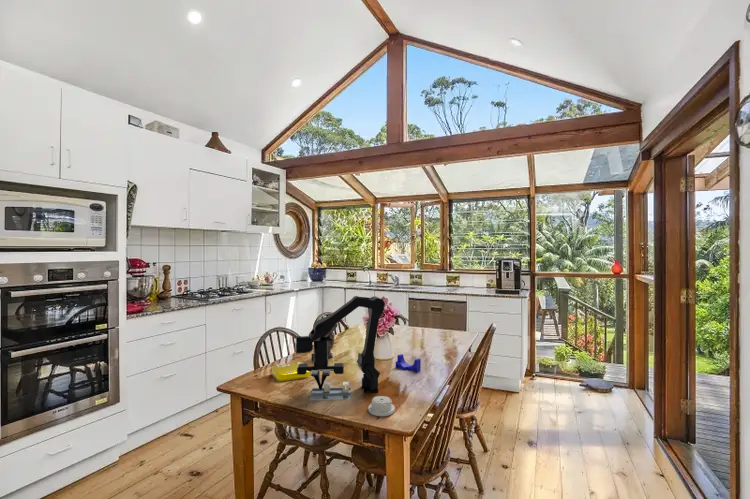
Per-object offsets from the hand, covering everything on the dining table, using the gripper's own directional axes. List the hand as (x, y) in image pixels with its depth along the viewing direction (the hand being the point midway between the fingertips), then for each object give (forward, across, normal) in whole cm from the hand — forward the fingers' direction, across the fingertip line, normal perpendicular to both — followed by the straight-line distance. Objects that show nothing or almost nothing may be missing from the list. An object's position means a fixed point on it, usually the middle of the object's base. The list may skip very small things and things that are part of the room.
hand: (320, 389), depth 155 cm
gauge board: (+2, -4, +2) cm, 5 cm away
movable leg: (+1, -3, +2) cm, 4 cm away
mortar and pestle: (+2, -1, -50) cm, 51 cm away
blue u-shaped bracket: (+3, -41, -30) cm, 51 cm away
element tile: (+3, +15, -23) cm, 28 cm away
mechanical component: (+3, -24, +16) cm, 29 cm away
